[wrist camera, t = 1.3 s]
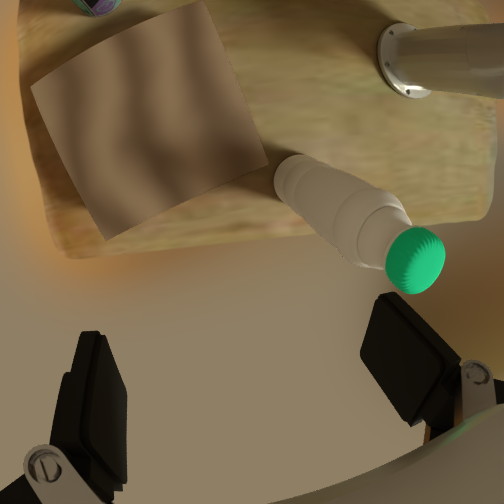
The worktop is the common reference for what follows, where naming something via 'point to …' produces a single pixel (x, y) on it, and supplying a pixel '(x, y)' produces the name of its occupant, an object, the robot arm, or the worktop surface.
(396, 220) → the water bottle
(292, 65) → the worktop surface
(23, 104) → the worktop surface
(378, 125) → the worktop surface
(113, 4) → the spray can
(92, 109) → the brown wooden block
